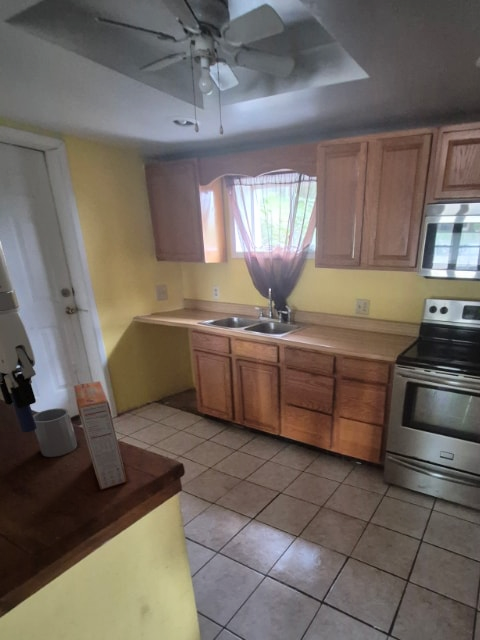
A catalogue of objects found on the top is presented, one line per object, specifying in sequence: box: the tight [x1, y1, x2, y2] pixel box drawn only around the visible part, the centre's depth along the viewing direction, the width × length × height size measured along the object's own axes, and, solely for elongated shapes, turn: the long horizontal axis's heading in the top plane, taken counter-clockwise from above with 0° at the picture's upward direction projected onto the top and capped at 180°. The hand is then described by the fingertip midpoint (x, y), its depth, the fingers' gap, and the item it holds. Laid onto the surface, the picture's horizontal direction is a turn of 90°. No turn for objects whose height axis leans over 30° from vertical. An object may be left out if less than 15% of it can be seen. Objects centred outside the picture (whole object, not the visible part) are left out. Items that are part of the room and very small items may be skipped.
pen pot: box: [33, 407, 78, 458], centre depth 97 cm, size 8×8×10 cm
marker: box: [4, 372, 37, 433], centre depth 69 cm, size 2×2×11 cm
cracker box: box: [73, 380, 128, 490], centre depth 85 cm, size 14×6×21 cm, turn 33°
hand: (21, 402), depth 69 cm, fingers closed on marker, 2 cm apart
